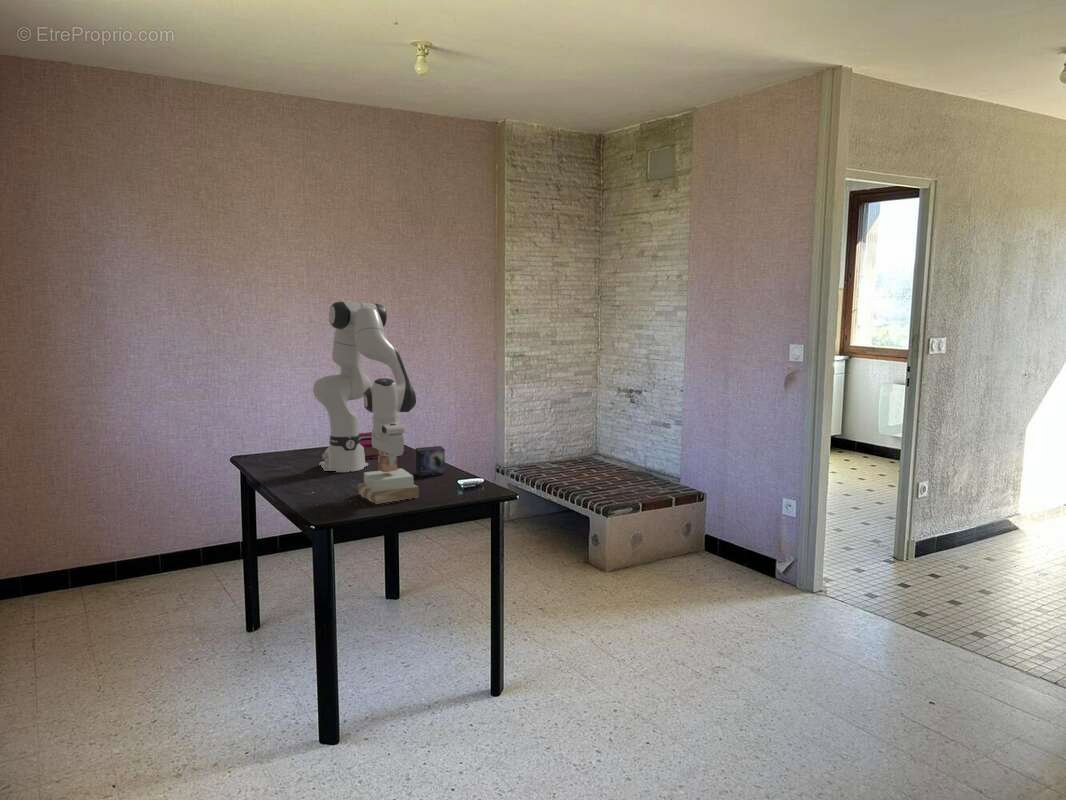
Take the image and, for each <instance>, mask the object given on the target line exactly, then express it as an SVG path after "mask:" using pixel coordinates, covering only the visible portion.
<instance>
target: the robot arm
mask: <svg viewBox="0 0 1066 800" xmlns="http://www.w3.org/2000/svg"><path fill="white" fill-rule="evenodd" d="M328 319H329V324H330V325H331V327H332V328H335V331H334V335H333V346H332V353H331V357H332V361H333V362H334V363H335V364H336V365H338V366H339V368H340V374H335V375H334V374H332V375H327V376H323V377H321V378H318V379H317V380H316V381H315V382H314V383H313V387H312V392H313V395H314V398H315V399H316V400H317V402H319V403H321V404H322V405H323V406H324V408H325V409H326V412H327V413H328V417H329V418H328V419H329V424H330V436H329V441H328V442H329V443H328V444H329V445H328V447H327V448H326V450H325V451H324V453H322V454H321V459H322V460H324V461H321V462H319V466H320V465H321V467H322V468H323V470H324V471H336V472H335V473H351V472H357V471H361V470H363V469H364V467H365V468H366V466H367V467H369V466H368V465H369V462H366V459H365V455H364V448H363V446H361V445H360V434H359V432H360V431H359V429H360V427H359V417H358V414H357V413H356V412H355V411H353V410H351V409H350V408H349V406H348V401H355V400H360V399H362V398H363V401H364V402H363V404H364V405H363V407H364V409H365V410H366V411H368V412H369V413H372V414H373V415H372V420H373V421H372V423H373V424H372V427H373V428H372V429H371V432H372V447H373V448H376V449H378V450H379V454H380V456H381V455H386V454H385V453H388V454H389V461H388V465H389V466H394V461H395V458H396V456H397V457H398V456H403V453H404V451H405V438H404V433H405V427H404V425H403V424H402V423H401V421H400V418H399V417H400V416H399V413H409V412H410V411H411V410H412V409H413V408H414V407H416V404H417V396H416V395H417V394H416V391H415V389H414V387H413V385H412V383H411V381H410V379H409V377H408V373H407V371H406V368H405V365H404V362H403V359H402V357H401V355H400V353H399V351H398V348H397V347H396V346H395V345H393V344H391V343H390V342H389V340H388V339H387V337H386V333H385V329H384V327H385V326H386V325H387V320H388V313H387V311H386V307H384V306H383V305H382V304H379V303H371V302H364V301H336V302H334V303H332V304H331V306H330V308H329V313H328ZM362 356H363V357H365V358H367V359H369V360H373V361H377V362H380V363H383V364H385V365H387V366H388V367H389V368H390V369H391V372H392V374H393V378H394V379H395V380H393V379H392V378H383V377H382V378H377V379H375V380H374V381H373V383H372V382H371V380H370V378H369V376H368V375H366V373H365V372H364V370H363V367H362V361H361V359H362ZM321 467H320V468H321ZM322 468H321V469H322ZM323 470H322V471H323ZM324 471H323V472H324ZM350 471H351V472H350Z"/></svg>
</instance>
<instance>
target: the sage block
mask: <svg viewBox="0 0 1066 800" xmlns="http://www.w3.org/2000/svg"><path fill="white" fill-rule="evenodd" d="M363 483H364V484H365V485H366V486H368V487H369V488H370V489H371V490H372V491H373V492H381V491H389V490H397V489H405V488H413V487H414V485H415V484H414V483H415V481H414V475H413V474H411V473H410V472H408V471H406V470H405V469H404V468H400V467H399V468H397V471H390V472H382V471H380V470H375V471H374V470H373V471H366V472H363Z"/></svg>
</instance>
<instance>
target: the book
mask: <svg viewBox="0 0 1066 800" xmlns="http://www.w3.org/2000/svg"><path fill="white" fill-rule="evenodd" d="M359 434H360V445H361V446H363V448H364V455H365V458H372V457H378V456H380V454H379V450H378V449H376V448H373V447H372V431H370V432H361V433H359ZM385 454H386V455H388V453H385Z"/></svg>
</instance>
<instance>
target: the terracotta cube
mask: <svg viewBox="0 0 1066 800" xmlns="http://www.w3.org/2000/svg"><path fill="white" fill-rule="evenodd" d="M388 461H389V454H388V455H381V456H378V458H377V467H378V468H377V469H378V470H377V471H382V472H390V471H397V469H398V456H396V458H395V461H394V466H389V465H388Z"/></svg>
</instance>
